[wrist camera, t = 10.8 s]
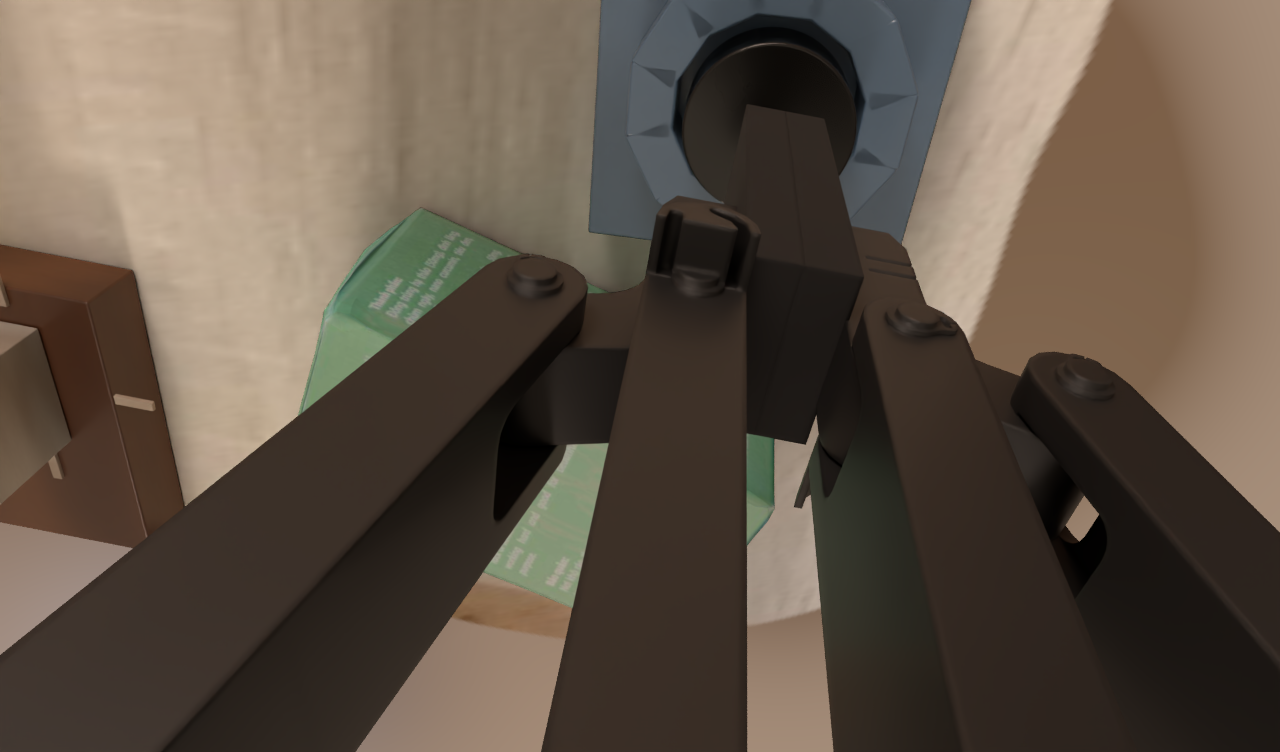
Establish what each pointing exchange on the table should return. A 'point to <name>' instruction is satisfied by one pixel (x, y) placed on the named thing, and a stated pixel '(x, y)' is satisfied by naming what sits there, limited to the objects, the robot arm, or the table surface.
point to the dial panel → (92, 402)
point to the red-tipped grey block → (26, 408)
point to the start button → (762, 98)
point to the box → (405, 291)
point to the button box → (729, 5)
